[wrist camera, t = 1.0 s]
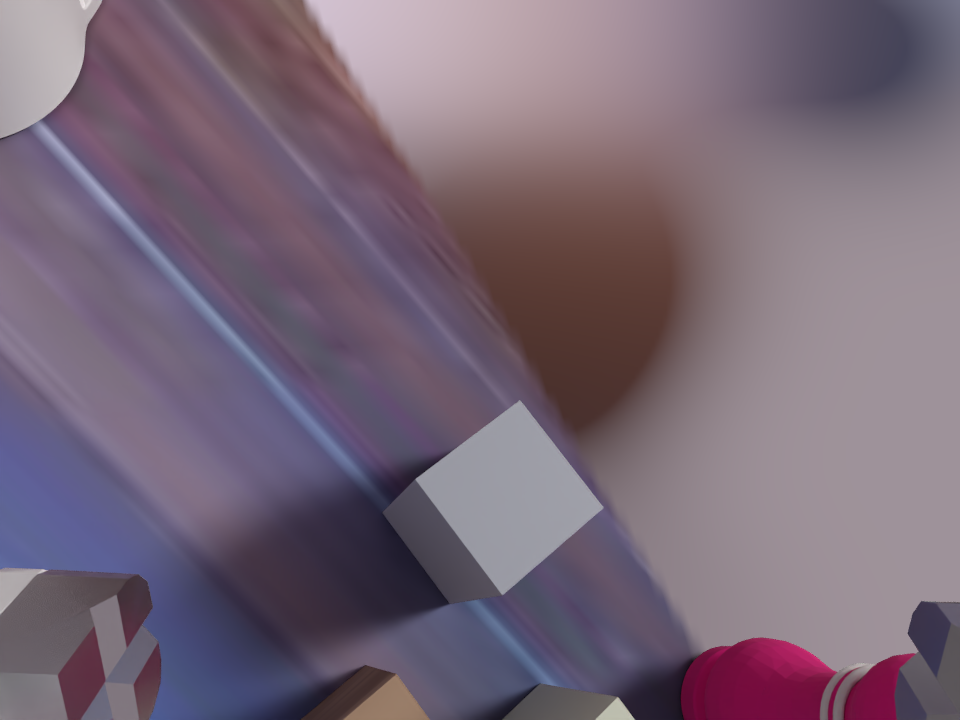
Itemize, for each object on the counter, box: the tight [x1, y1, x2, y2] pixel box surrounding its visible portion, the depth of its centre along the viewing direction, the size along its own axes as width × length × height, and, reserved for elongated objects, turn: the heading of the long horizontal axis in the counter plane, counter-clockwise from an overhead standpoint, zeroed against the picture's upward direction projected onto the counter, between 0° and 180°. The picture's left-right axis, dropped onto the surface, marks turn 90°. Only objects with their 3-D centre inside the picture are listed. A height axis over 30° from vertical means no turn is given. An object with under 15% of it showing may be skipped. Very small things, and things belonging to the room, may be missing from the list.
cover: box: [382, 401, 603, 604], centre depth 43 cm, size 6×6×11 cm
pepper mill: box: [681, 638, 915, 720], centre depth 40 cm, size 7×7×20 cm
